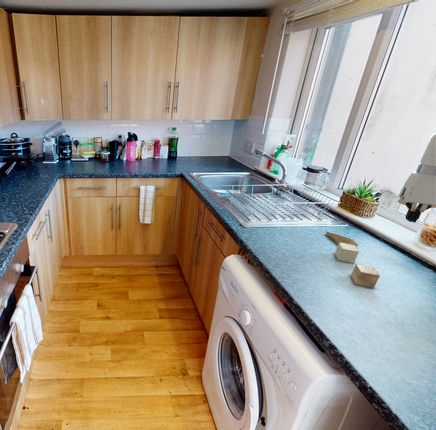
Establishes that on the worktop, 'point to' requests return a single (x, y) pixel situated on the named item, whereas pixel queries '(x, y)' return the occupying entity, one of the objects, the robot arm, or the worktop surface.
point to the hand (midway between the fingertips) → (410, 220)
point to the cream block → (346, 252)
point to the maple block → (365, 276)
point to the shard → (341, 239)
